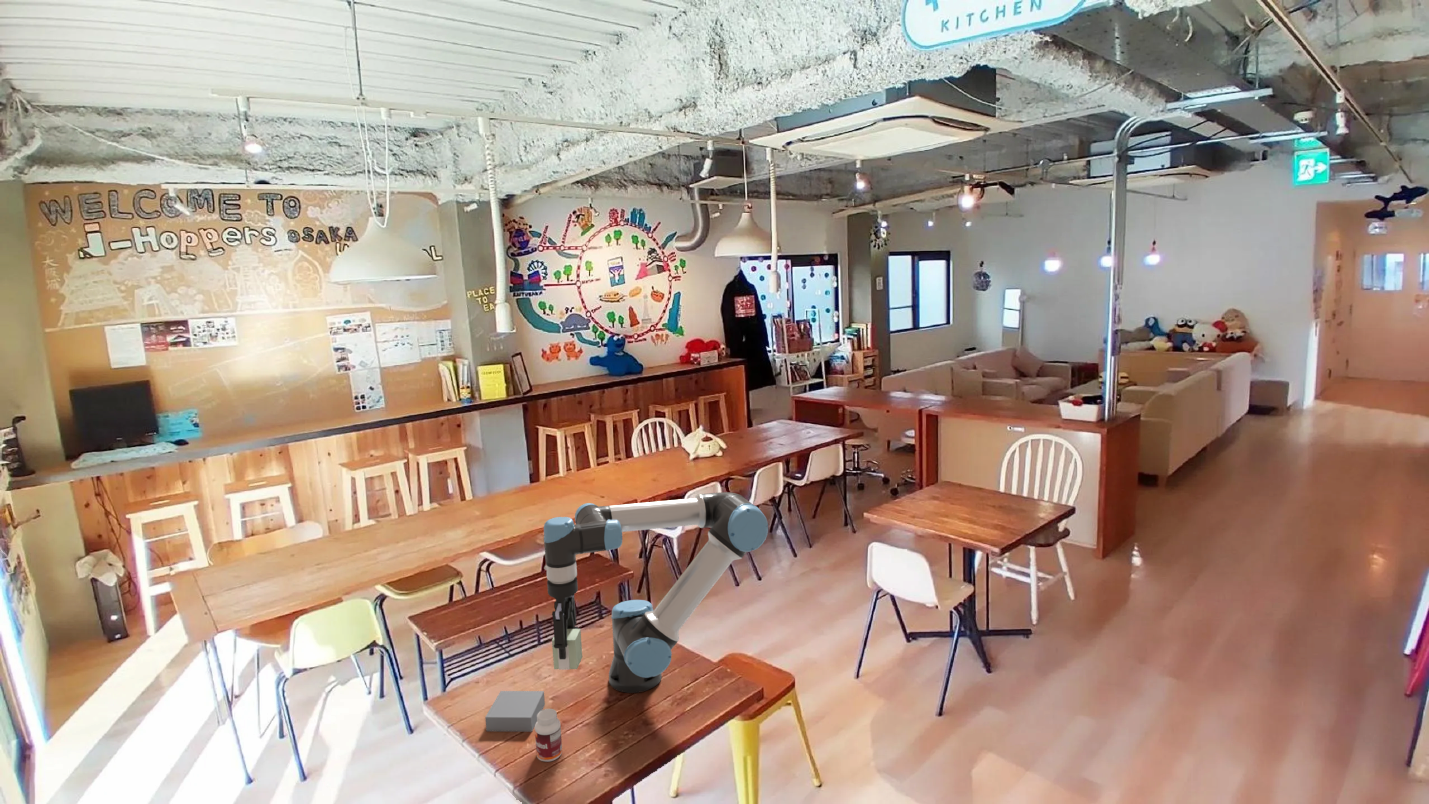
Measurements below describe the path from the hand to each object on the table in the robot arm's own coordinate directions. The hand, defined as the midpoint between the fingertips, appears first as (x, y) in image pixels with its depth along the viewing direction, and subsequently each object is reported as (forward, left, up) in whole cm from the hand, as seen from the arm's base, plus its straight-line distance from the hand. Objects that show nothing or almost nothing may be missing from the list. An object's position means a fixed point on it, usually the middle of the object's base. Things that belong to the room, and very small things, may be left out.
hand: (567, 661), depth 192 cm
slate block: (+15, -1, -17) cm, 23 cm away
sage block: (0, 0, 0) cm, 0 cm away
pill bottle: (+2, +14, -17) cm, 22 cm away
